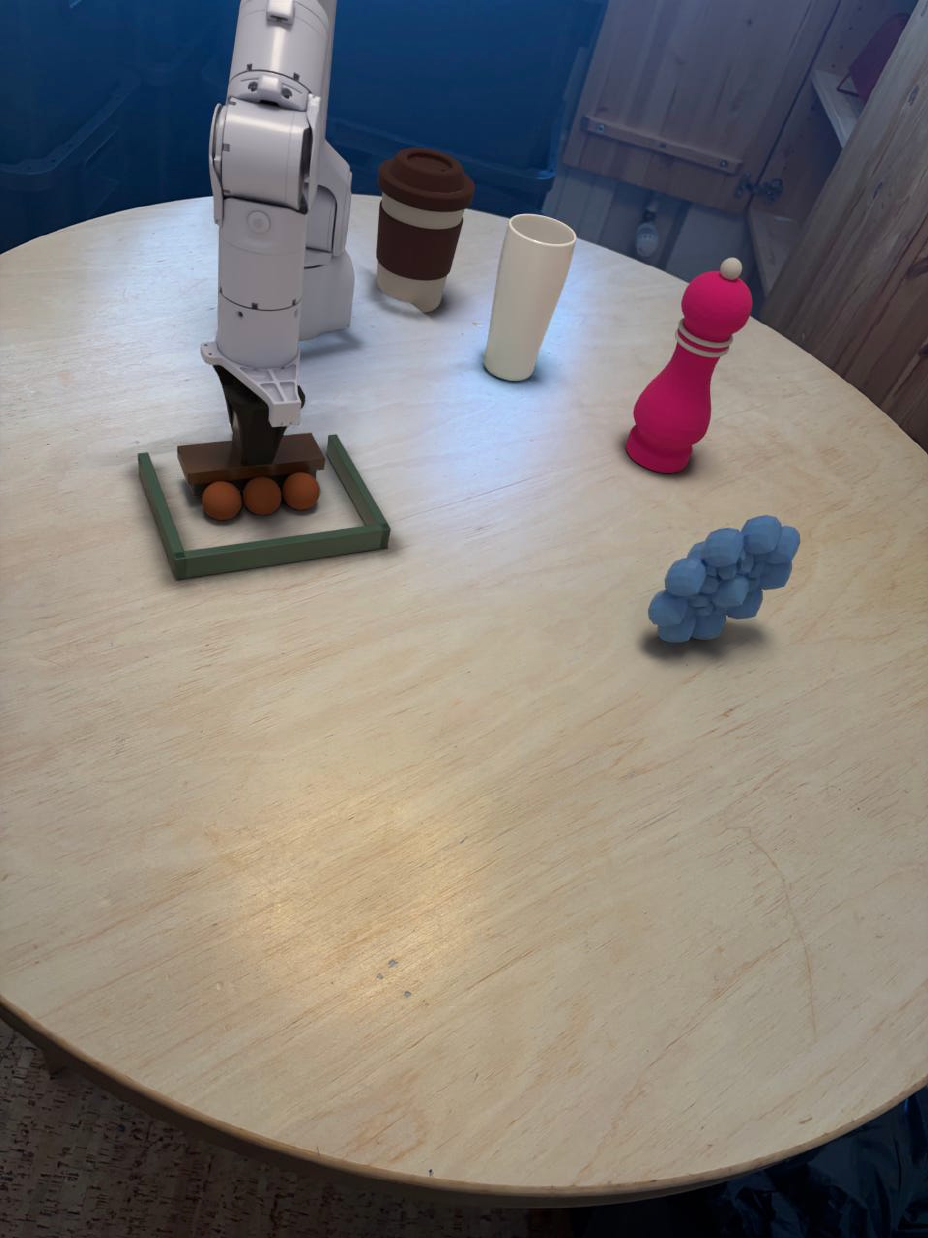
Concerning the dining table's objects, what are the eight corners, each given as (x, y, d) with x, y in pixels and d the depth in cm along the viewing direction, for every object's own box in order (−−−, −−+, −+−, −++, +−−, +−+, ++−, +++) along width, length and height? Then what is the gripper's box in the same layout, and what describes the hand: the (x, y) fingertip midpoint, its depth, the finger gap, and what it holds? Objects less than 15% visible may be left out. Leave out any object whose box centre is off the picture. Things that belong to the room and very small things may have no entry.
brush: (177, 472, 76) (174, 378, 70) (309, 458, 81) (317, 368, 75) (188, 500, 74) (186, 405, 68) (322, 484, 79) (332, 394, 73)
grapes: (725, 589, 80) (786, 476, 72) (770, 647, 76) (840, 533, 68) (608, 607, 76) (658, 488, 68) (649, 670, 72) (708, 551, 63)
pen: (138, 473, 76) (137, 452, 75) (334, 452, 83) (336, 433, 82) (175, 580, 69) (175, 559, 67) (387, 547, 76) (391, 528, 74)
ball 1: (227, 485, 76) (232, 469, 73) (245, 517, 76) (251, 501, 73) (193, 499, 75) (196, 483, 72) (211, 531, 74) (215, 516, 72)
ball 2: (304, 475, 79) (311, 460, 76) (321, 506, 79) (330, 492, 76) (272, 489, 77) (278, 474, 75) (290, 520, 77) (297, 506, 75)
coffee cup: (350, 278, 107) (366, 138, 96) (430, 276, 111) (454, 142, 101) (382, 323, 101) (403, 180, 91) (465, 319, 105) (494, 182, 95)
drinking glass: (540, 360, 102) (578, 223, 91) (537, 393, 97) (577, 251, 87) (478, 346, 101) (510, 206, 91) (472, 378, 97) (505, 234, 86)
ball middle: (266, 480, 77) (272, 464, 75) (284, 512, 77) (291, 496, 74) (233, 494, 76) (238, 478, 73) (252, 526, 76) (257, 511, 73)
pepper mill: (690, 485, 91) (778, 288, 77) (617, 464, 91) (692, 263, 77) (692, 444, 96) (775, 253, 82) (623, 425, 96) (694, 231, 82)
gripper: (177, 242, 69) (180, 402, 78) (230, 348, 60) (226, 514, 70) (272, 241, 72) (264, 396, 81) (336, 342, 63) (318, 502, 72)
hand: (253, 450), depth 75 cm, fingers closed on brush, 2 cm apart
